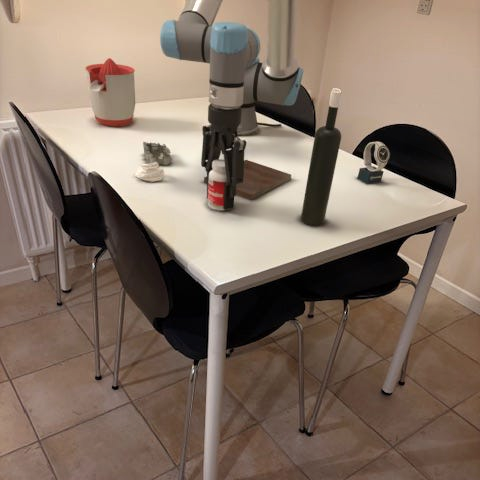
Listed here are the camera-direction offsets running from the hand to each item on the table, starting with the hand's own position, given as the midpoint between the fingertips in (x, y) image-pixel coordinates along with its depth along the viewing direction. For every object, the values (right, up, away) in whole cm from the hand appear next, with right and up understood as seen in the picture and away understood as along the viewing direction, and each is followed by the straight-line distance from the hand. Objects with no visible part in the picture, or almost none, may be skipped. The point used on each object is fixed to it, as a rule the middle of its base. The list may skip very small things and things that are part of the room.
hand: (219, 202), depth 119 cm
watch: (+44, +12, +23) cm, 51 cm away
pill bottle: (0, -1, +1) cm, 1 cm away
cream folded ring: (-20, +9, +11) cm, 25 cm away
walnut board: (+7, +10, +15) cm, 19 cm away
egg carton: (-20, +18, +23) cm, 35 cm away
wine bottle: (+23, -5, -2) cm, 23 cm away
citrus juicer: (-39, +39, +47) cm, 72 cm away
